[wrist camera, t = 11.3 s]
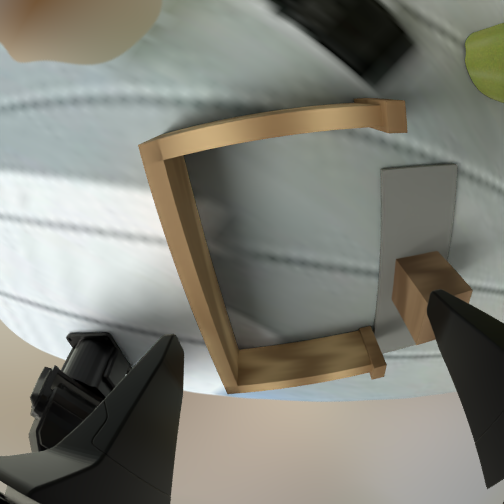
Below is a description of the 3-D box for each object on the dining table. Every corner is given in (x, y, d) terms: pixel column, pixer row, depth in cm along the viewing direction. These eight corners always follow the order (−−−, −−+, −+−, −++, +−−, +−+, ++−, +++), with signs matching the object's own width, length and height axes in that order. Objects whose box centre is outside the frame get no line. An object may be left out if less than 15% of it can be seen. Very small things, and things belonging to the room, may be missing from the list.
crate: (230, 360, 29) (228, 401, 25) (160, 130, 18) (132, 141, 14) (369, 338, 28) (383, 376, 23) (369, 98, 17) (404, 100, 12)
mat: (370, 353, 29) (371, 356, 29) (380, 169, 20) (382, 170, 19) (425, 338, 29) (427, 341, 28) (454, 163, 19) (457, 164, 19)
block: (391, 299, 25) (416, 345, 20) (395, 259, 23) (427, 303, 18) (430, 290, 25) (459, 331, 19) (437, 250, 22) (472, 290, 17)
